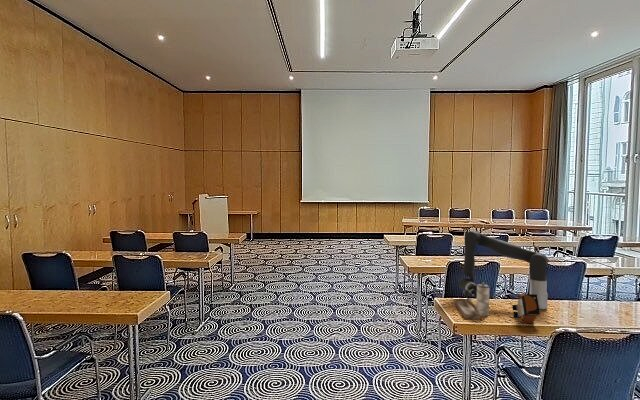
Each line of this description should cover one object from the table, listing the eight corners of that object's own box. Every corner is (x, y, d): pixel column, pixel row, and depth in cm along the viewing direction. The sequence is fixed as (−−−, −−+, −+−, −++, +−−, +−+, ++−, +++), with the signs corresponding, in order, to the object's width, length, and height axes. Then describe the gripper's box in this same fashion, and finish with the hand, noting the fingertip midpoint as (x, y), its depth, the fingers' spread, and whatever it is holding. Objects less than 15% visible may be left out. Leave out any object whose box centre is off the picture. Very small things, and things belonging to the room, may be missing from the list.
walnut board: (468, 305, 266) (468, 301, 266) (480, 319, 237) (480, 314, 237) (454, 304, 267) (455, 300, 267) (465, 318, 238) (465, 314, 238)
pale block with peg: (486, 313, 250) (486, 281, 249) (488, 316, 244) (489, 283, 243) (476, 312, 250) (477, 281, 250) (478, 315, 245) (479, 283, 244)
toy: (510, 297, 247) (525, 289, 229) (520, 297, 247) (535, 289, 229) (515, 325, 241) (530, 320, 223) (525, 326, 240) (541, 320, 222)
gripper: (461, 283, 273) (466, 288, 257) (484, 284, 272) (491, 289, 256) (460, 294, 274) (466, 301, 257) (484, 295, 272) (491, 302, 256)
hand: (478, 295), depth 257 cm, fingers open, 8 cm apart
